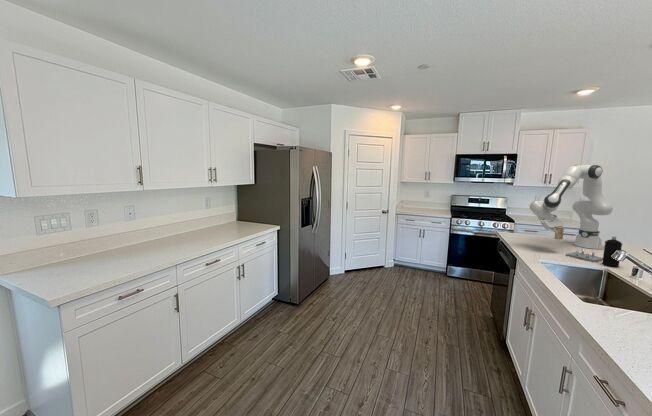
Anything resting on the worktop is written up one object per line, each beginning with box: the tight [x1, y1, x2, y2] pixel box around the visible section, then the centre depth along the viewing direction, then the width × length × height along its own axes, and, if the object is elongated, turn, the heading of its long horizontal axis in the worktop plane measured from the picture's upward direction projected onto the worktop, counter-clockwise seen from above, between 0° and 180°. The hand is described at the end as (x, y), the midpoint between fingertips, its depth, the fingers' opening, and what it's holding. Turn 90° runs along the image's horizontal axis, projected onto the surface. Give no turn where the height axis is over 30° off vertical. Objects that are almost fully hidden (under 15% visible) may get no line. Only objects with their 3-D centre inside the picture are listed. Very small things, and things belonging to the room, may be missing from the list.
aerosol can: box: [601, 236, 623, 268], centre depth 180 cm, size 8×8×20 cm
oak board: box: [554, 226, 565, 240], centre depth 208 cm, size 5×3×9 cm, turn 114°
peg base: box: [565, 248, 603, 263], centre depth 197 cm, size 14×17×5 cm
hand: (560, 232), depth 207 cm, fingers closed on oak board, 5 cm apart
